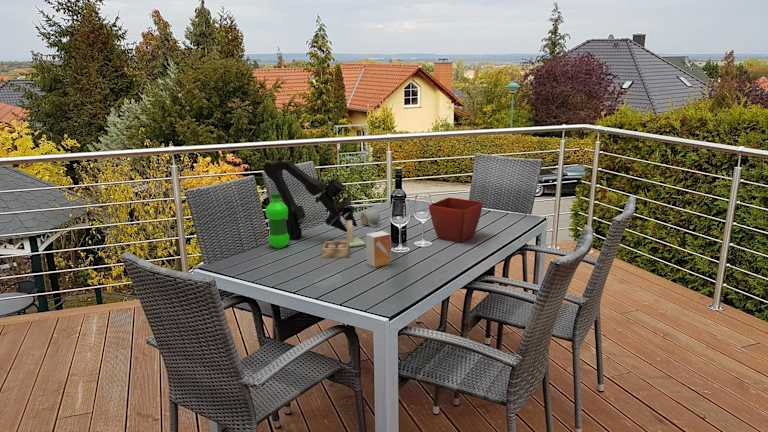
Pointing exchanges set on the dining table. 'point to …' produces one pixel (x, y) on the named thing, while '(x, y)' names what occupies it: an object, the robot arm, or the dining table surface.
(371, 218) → the ceramic mug
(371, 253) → the small box
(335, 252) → the oak box
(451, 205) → the plant pot
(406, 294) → the dining table surface
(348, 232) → the beige peg on base
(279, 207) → the plastic bottle
